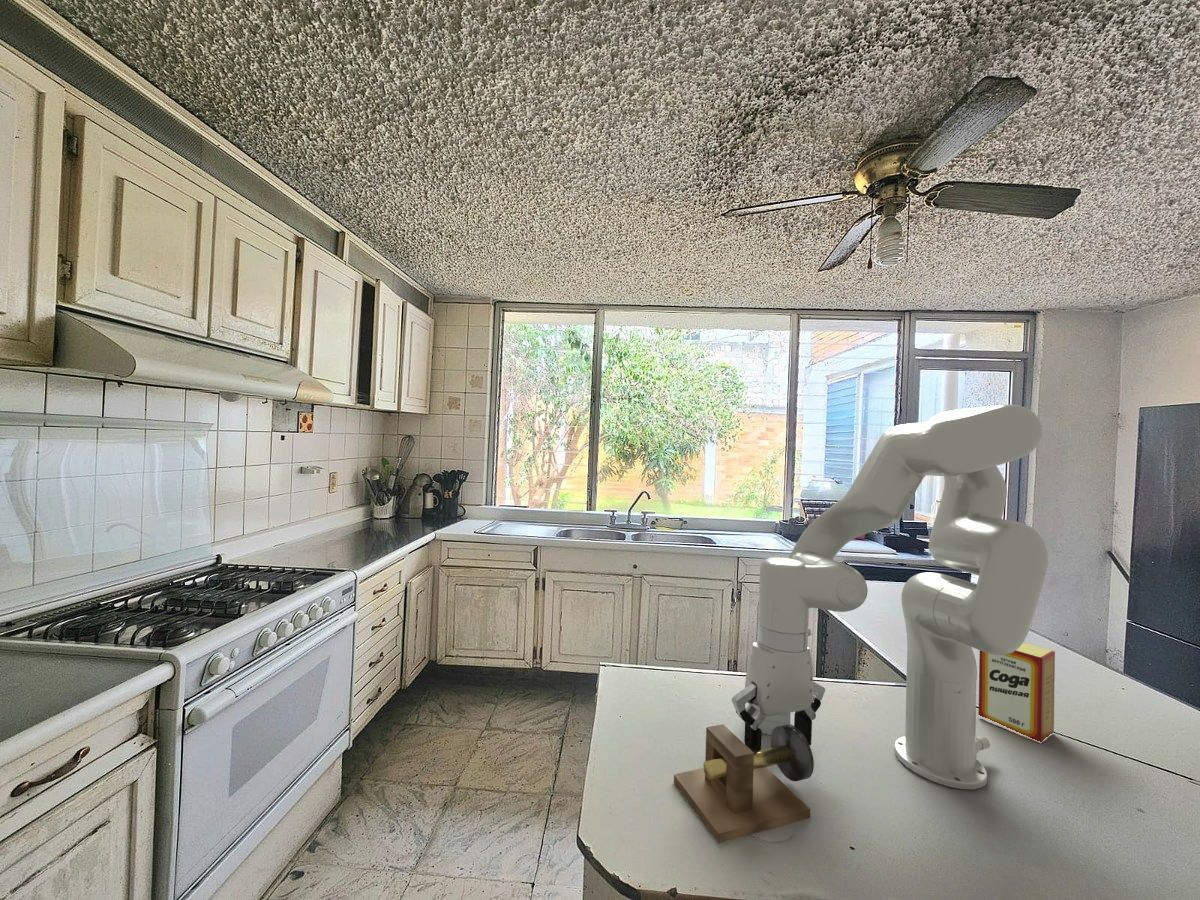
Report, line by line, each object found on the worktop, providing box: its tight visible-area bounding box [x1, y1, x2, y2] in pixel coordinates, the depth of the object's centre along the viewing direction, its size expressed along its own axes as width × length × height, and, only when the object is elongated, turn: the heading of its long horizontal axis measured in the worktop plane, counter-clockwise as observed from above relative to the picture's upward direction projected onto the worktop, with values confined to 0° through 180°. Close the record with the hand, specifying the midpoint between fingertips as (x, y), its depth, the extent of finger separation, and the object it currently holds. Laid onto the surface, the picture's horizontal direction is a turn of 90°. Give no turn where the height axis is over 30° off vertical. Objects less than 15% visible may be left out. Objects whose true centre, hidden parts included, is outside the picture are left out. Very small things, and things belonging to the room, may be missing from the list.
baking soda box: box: [978, 642, 1056, 742], centre depth 92 cm, size 10×6×16 cm
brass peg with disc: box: [702, 723, 815, 782], centre depth 70 cm, size 17×7×7 cm, turn 110°
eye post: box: [673, 723, 811, 844], centre depth 69 cm, size 15×12×9 cm
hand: (777, 745), depth 75 cm, fingers open, 9 cm apart
